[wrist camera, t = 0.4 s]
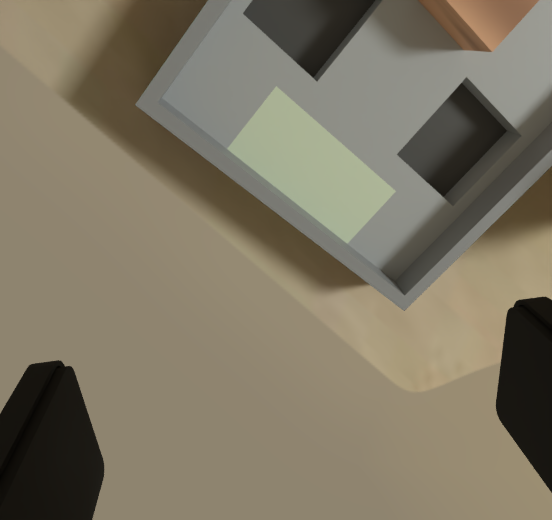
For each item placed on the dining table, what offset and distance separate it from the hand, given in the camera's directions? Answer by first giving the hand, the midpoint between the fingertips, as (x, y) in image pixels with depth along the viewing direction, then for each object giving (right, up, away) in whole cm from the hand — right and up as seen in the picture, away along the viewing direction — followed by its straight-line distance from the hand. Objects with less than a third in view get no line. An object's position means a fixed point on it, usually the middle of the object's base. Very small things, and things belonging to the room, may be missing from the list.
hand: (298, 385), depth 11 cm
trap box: (+7, +16, +26) cm, 31 cm away
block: (+12, +20, +22) cm, 32 cm away
